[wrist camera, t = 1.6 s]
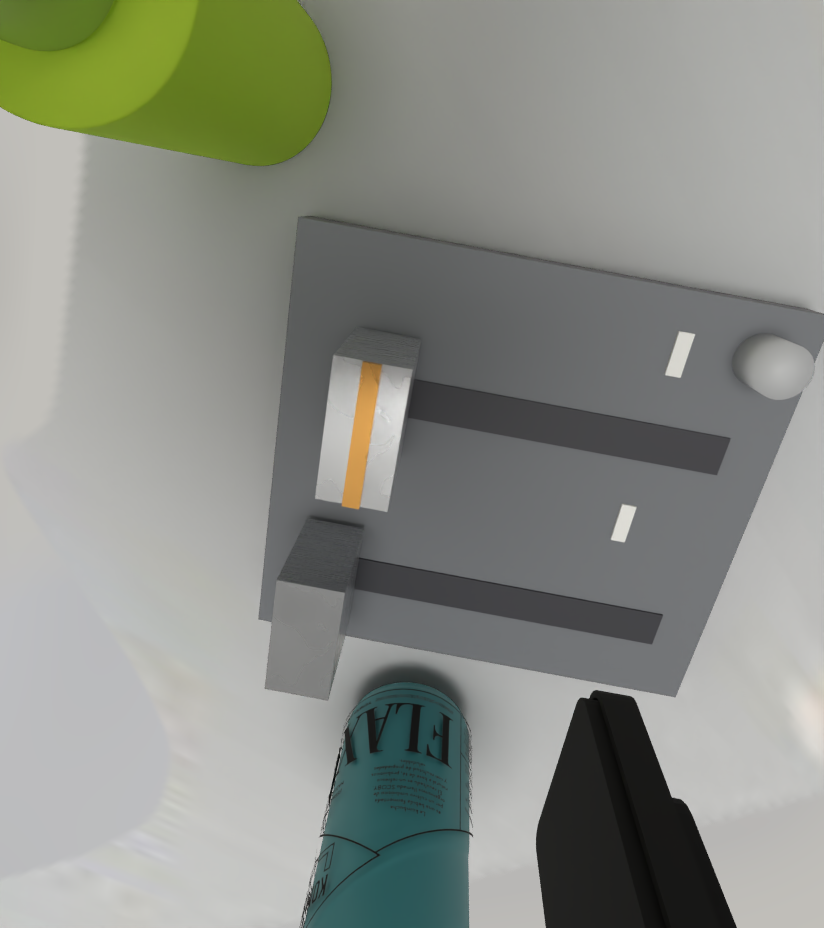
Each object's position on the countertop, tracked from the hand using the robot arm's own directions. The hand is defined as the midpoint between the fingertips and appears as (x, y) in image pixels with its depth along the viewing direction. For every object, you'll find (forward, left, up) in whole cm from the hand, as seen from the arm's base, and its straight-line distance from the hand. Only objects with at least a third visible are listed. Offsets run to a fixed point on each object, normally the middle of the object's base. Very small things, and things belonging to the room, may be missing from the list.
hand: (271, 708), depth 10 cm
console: (+3, +6, -19) cm, 20 cm away
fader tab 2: (0, 0, -17) cm, 17 cm away
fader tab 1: (+8, -1, -17) cm, 19 cm away
